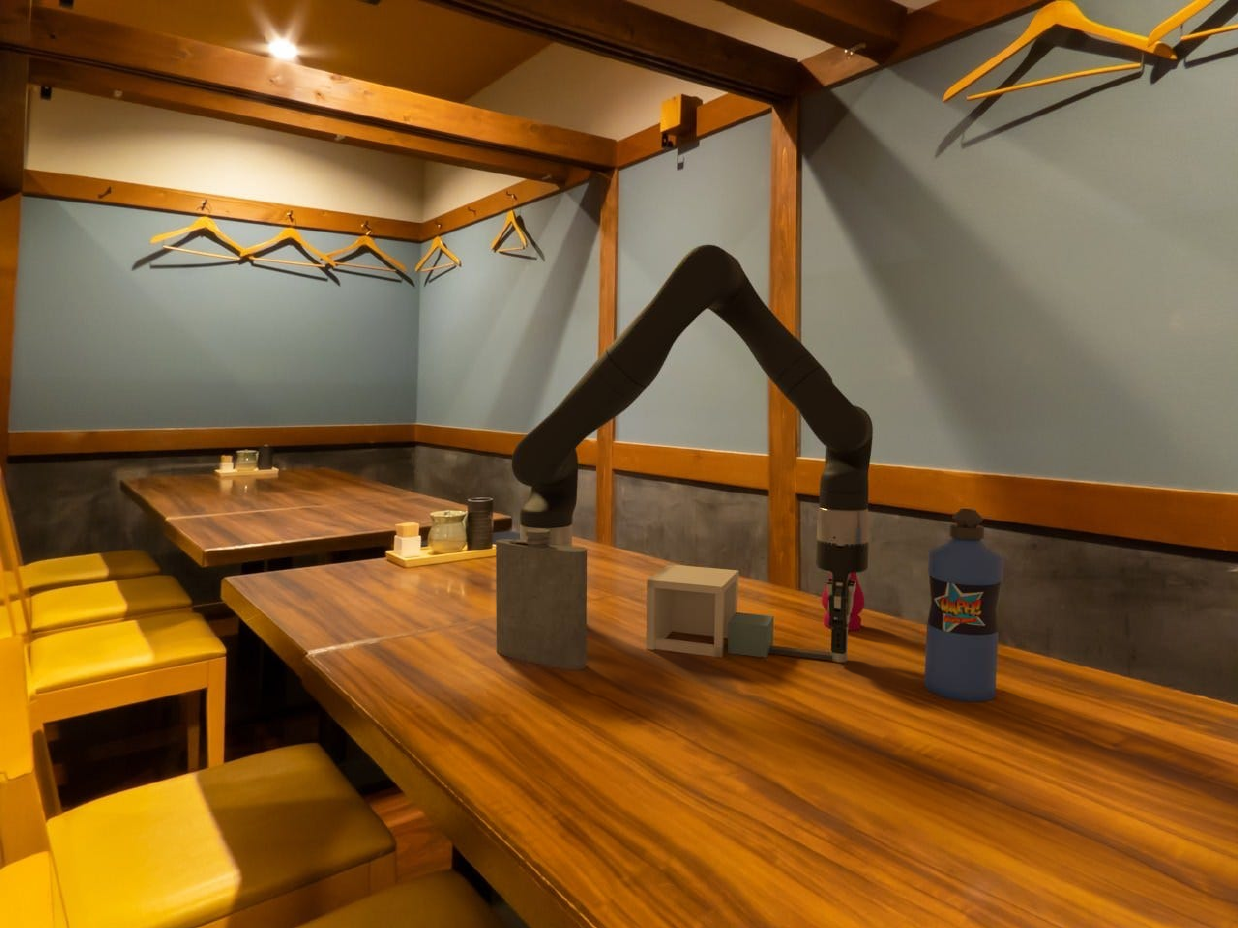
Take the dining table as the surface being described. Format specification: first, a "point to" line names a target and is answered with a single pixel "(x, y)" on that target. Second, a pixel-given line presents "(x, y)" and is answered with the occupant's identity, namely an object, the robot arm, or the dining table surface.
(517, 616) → the hip flask
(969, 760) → the dining table surface
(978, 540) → the water bottle
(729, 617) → the shelf
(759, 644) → the grey block with handle
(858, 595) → the pepper mill
